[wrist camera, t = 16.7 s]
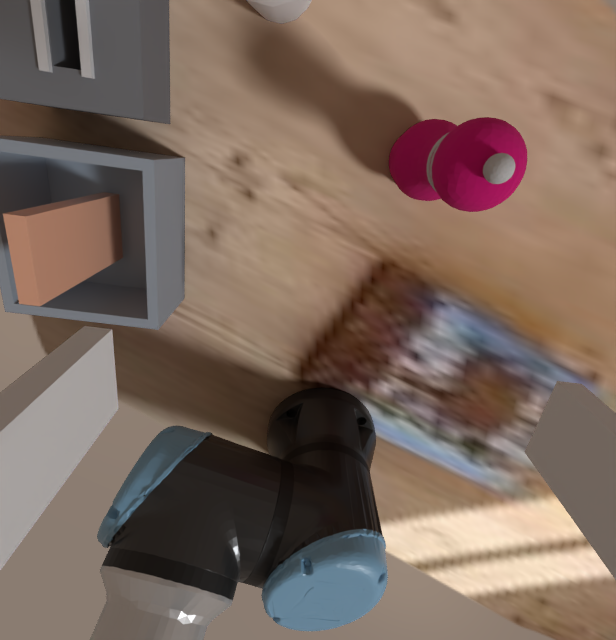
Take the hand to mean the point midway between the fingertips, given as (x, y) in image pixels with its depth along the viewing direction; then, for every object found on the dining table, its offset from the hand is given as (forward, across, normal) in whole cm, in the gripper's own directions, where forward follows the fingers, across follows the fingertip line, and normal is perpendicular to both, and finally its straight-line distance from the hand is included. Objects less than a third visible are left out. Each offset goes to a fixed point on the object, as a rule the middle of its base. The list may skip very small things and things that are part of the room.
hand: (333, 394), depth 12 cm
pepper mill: (+35, -10, -7) cm, 37 cm away
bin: (+35, +22, +4) cm, 41 cm away
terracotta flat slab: (+34, +22, +4) cm, 40 cm away
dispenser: (+35, +22, -14) cm, 43 cm away
